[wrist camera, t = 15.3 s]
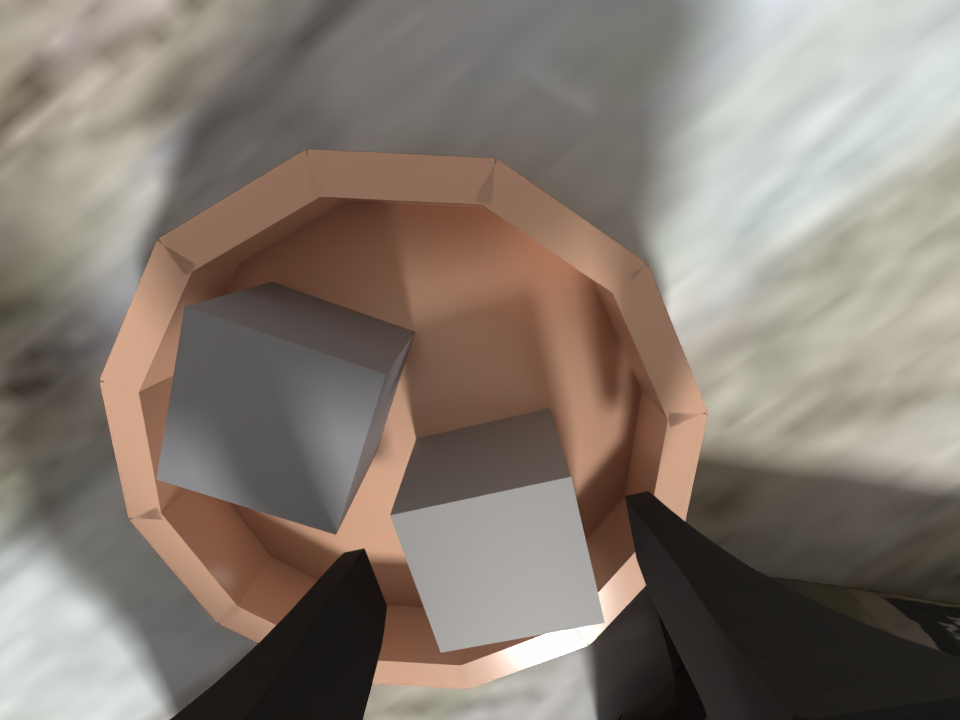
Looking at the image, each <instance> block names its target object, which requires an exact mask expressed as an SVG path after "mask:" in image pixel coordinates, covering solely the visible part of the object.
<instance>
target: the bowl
mask: <svg viewBox="0 0 960 720" xmlns="http://www.w3.org/2000/svg"><path fill="white" fill-rule="evenodd" d="M159 239H160V241H156V244H155V246H154V249H153V251H152V254H151V256H150V258H149V261H148V263H147V266H146V268H145V271H144V273H143V275H142V278H141V280H140V283H139V285H138V288H137V290H136V292H135V295H134V297H133V300H132V302H131V305H130V307H129V310H128V312H127V314H126V317H125V319H124V322H123V324H122V327H121V329H120V331H119V334H118V336H117V339H116V341H115V344H114V346H113V349H112V351H111V353H110V356H109V358H108V361H107V363H106V366H105V368H104V370H103V373H102V375H101V378H100V380H102V381H101V382H100V386H101V391H102V396H103V400H104V405H105V410H106V415H107V419H108V424H109V429H110V434H111V439H112V443H113V448H114V453H115V458H116V462H117V467H118V472H119V477H120V481H121V486H122V491H123V496H124V500H125V505H126V510H127V515H128V518H132V519H130V522H131V523H132V524H133V525H134V526H135V528H136V529H137V530H138V531H139V532H140V533H141V535H142V536H143V537H144V538H145V539H146V540H147V542H148V543H149V544H150V545H151V546H152V548H153V549H154V550H155V551H156V552H157V553H158V555H159V556H160V557H161V558H162V559H163V560H164V562H165V563H166V564H167V565H168V566H169V568H170V569H171V570H172V571H173V572H174V573H175V575H176V576H177V577H178V578H179V579H180V580H181V582H182V583H183V584H184V585H185V586H186V588H187V589H188V590H189V591H190V592H191V593H192V595H193V596H194V597H195V598H196V599H197V601H198V602H199V603H200V604H201V605H202V606H203V608H204V609H205V610H206V611H207V612H208V613H209V615H210V616H211V617H212V618H213V619H214V621H215V622H219V621H220V622H219V625H221V626H223V627H225V628H227V629H229V630H232V631H234V632H236V633H238V634H240V635H242V636H244V637H246V638H248V639H250V640H252V641H254V642H257V643H259V642H260V641H261V640H262V639H263V638H264V637H265V636H266V635H267V634H268V633H269V632H270V631H271V630H272V629H273V628H274V627H275V626H276V625H277V624H278V623H279V622H280V621H281V620H282V619H283V618H284V617H285V616H286V615H287V614H288V613H289V612H290V610H291V609H292V608H293V607H294V606H295V605H296V604H297V603H298V602H299V601H300V599H301V598H302V597H303V596H304V595H305V594H306V593H307V592H308V591H309V590H310V588H311V587H312V586H313V585H314V584H315V583H316V582H317V581H318V580H319V578H320V577H321V576H322V575H323V574H324V573H325V572H326V571H327V570H328V568H329V567H330V566H331V565H332V564H333V563H334V562H335V561H336V560H337V559H338V558H339V557H340V556H341V555H342V554H343V553H344V552H349V551H354V550H359V549H364V548H365V551H366V553H367V556H368V558H369V561H370V563H371V566H372V569H373V571H374V574H375V576H376V579H377V581H378V584H379V587H380V589H381V592H382V594H383V597H384V599H385V602H386V604H387V612H386V620H385V628H384V635H383V642H382V647H381V651H380V655H379V659H378V663H377V667H376V671H375V675H374V679H373V682H372V684H389V685H406V686H423V687H440V688H457V689H467V686H468V687H469V689H470V688H473V687H476V686H478V685H481V684H484V683H487V682H489V681H492V680H495V679H498V678H500V677H503V676H506V675H509V674H511V673H514V672H517V671H520V670H522V669H525V668H528V667H531V666H534V665H536V664H539V663H542V662H545V661H547V660H550V659H553V658H556V657H558V656H561V655H564V654H567V653H569V652H572V651H575V650H578V649H580V648H583V647H586V646H588V643H589V644H591V643H592V642H593V641H594V640H595V639H596V638H597V637H598V636H599V635H600V634H601V633H602V632H603V630H604V629H605V628H606V627H607V626H608V625H609V624H610V623H611V622H612V621H613V620H614V619H615V618H616V617H617V616H618V615H619V613H620V612H621V611H622V610H623V609H624V608H625V607H626V606H627V605H628V604H629V603H630V602H631V601H632V600H633V599H634V598H635V596H636V595H637V594H638V593H639V592H640V591H641V590H642V589H643V588H644V587H645V586H646V584H645V581H644V578H643V575H642V573H641V570H640V567H639V565H638V562H637V559H636V553H635V548H634V543H633V537H632V532H631V527H630V522H629V516H628V511H627V506H626V500H625V496H627V495H632V494H637V493H642V492H647V491H649V492H650V493H652V494H653V495H654V496H655V497H657V498H658V499H659V500H660V501H661V502H662V503H663V504H665V505H666V506H667V507H668V508H669V509H671V510H672V511H673V512H674V513H675V514H677V515H678V516H679V517H680V518H682V519H683V520H684V521H686V516H687V511H688V506H689V502H690V497H691V492H692V487H693V483H694V478H695V473H696V468H697V463H698V459H699V454H700V449H701V444H702V440H703V435H704V430H705V425H706V421H707V416H708V414H707V413H706V412H708V411H707V409H706V406H705V404H704V401H703V399H702V396H701V394H700V391H699V389H698V387H697V384H696V382H695V379H694V377H693V374H692V372H691V369H690V367H689V364H688V362H687V359H686V357H685V354H684V352H683V350H682V347H681V345H680V342H679V340H678V337H677V335H676V332H675V330H674V327H673V325H672V322H671V320H670V317H669V315H668V313H667V310H666V308H665V305H664V303H663V300H662V298H661V295H660V293H659V290H658V288H657V285H656V283H655V280H654V278H653V276H652V273H651V271H650V268H649V266H648V265H645V264H646V262H645V261H643V260H642V259H640V258H639V257H637V256H636V255H635V254H633V253H632V252H630V251H629V250H627V249H626V248H624V247H623V246H622V245H620V244H619V243H617V242H616V241H614V240H613V239H612V238H610V237H609V236H607V235H606V234H604V233H603V232H602V231H600V230H599V229H597V228H596V227H594V226H593V225H592V224H590V223H589V222H587V221H586V220H584V219H583V218H581V217H580V216H579V215H577V214H576V213H574V212H573V211H571V210H570V209H569V208H567V207H566V206H564V205H563V204H561V203H560V202H559V201H557V200H556V199H554V198H553V197H551V196H550V195H549V194H547V193H546V192H544V191H543V190H541V189H540V188H539V187H537V186H536V185H534V184H533V183H531V182H530V181H528V180H527V179H526V178H524V177H523V176H521V175H520V174H518V173H517V172H516V171H514V170H513V169H511V168H510V167H508V166H507V165H506V164H504V163H503V162H501V161H500V160H497V162H496V163H495V165H494V158H484V157H463V156H442V155H422V154H401V153H380V152H359V151H338V150H317V149H308V151H306V150H303V151H302V152H300V153H298V154H297V155H295V156H293V157H292V158H290V159H289V160H287V161H285V162H284V163H282V164H280V165H279V166H277V167H275V168H274V169H272V170H270V171H269V172H267V173H265V174H264V175H262V176H261V177H259V178H257V179H256V180H254V181H252V182H251V183H249V184H247V185H246V186H244V187H242V188H241V189H239V190H238V191H236V192H234V193H233V194H231V195H229V196H228V197H226V198H224V199H223V200H221V201H219V202H218V203H216V204H214V205H213V206H211V207H210V208H208V209H206V210H205V211H203V212H201V213H200V214H198V215H196V216H195V217H193V218H191V219H190V220H188V221H187V222H185V223H183V224H182V225H180V226H178V227H177V228H175V229H173V230H172V231H170V232H168V233H167V234H165V235H163V236H162V237H160V238H159ZM270 282H274V283H277V284H280V285H283V286H286V287H288V288H291V289H294V290H297V291H300V292H303V293H306V294H309V295H311V296H314V297H317V298H320V299H323V300H326V301H329V302H332V303H334V304H337V305H340V306H343V307H346V308H349V309H352V310H355V311H357V312H360V313H363V314H366V315H369V316H372V317H375V318H378V319H380V320H383V321H386V322H389V323H392V324H395V325H398V326H401V327H403V328H406V329H409V330H412V331H415V334H414V337H413V340H412V343H411V346H410V349H409V352H408V356H407V359H406V362H405V365H404V368H403V371H402V374H401V377H400V380H399V384H398V387H397V390H396V393H395V396H394V399H393V402H392V405H391V408H390V412H389V415H388V418H387V421H386V424H385V427H384V430H383V433H382V436H381V440H380V443H379V446H378V449H377V452H376V455H375V457H374V459H373V461H372V463H371V465H370V467H369V469H368V471H367V473H366V475H365V477H364V479H363V481H362V483H361V485H360V487H359V489H358V491H357V493H356V495H355V498H354V500H353V502H352V504H351V506H350V508H349V510H348V512H347V514H346V516H345V518H344V520H343V522H342V524H341V526H340V528H339V530H338V532H337V534H336V535H335V534H331V533H328V532H325V531H322V530H318V529H315V528H312V527H309V526H305V525H302V524H299V523H296V522H292V521H289V520H286V519H283V518H279V517H276V516H273V515H270V514H266V513H263V512H260V511H257V510H253V509H250V508H247V507H244V506H240V505H237V504H234V503H231V502H227V501H224V500H221V499H218V498H214V497H211V496H208V495H205V494H201V493H198V492H195V491H192V490H188V489H185V488H182V487H179V486H175V485H172V484H169V483H166V482H162V481H159V480H156V479H157V472H158V466H159V460H160V454H161V448H162V442H163V435H164V429H165V423H166V417H167V411H168V405H169V399H170V392H171V386H172V380H173V374H174V368H175V362H176V356H177V349H178V343H179V337H180V331H181V325H182V319H183V312H184V306H187V305H191V304H194V303H198V302H202V301H205V300H209V299H212V298H216V297H219V296H223V295H227V294H230V293H234V292H237V291H241V290H244V289H248V288H252V287H255V286H259V285H262V284H266V283H270ZM549 408H550V410H551V414H552V417H553V420H554V423H555V427H556V430H557V433H558V436H559V439H560V443H561V446H562V449H563V452H564V455H565V459H566V462H567V465H568V468H569V471H570V475H571V478H572V483H573V487H574V491H575V496H576V500H577V504H578V509H579V513H580V517H581V522H582V526H583V530H584V535H585V539H586V543H587V548H588V552H589V556H590V561H591V565H592V569H593V574H594V578H595V582H596V587H597V591H598V595H599V600H600V604H601V608H602V613H603V617H604V621H605V623H602V624H597V625H591V626H586V627H580V628H575V629H569V630H564V631H558V632H553V633H547V634H542V635H536V636H531V637H525V638H520V639H514V640H509V641H503V642H498V643H492V644H487V645H481V646H476V647H470V648H464V649H459V650H453V651H448V652H442V653H441V652H440V649H439V647H438V644H437V641H436V638H435V636H434V633H433V630H432V628H431V625H430V622H429V620H428V617H427V614H426V611H425V609H424V606H423V603H422V601H421V598H420V595H419V593H418V590H417V587H416V585H415V582H414V579H413V576H412V574H411V571H410V568H409V566H408V563H407V560H406V558H405V555H404V552H403V549H402V547H401V544H400V541H399V539H398V536H397V533H396V531H395V528H394V525H393V522H392V520H391V517H390V514H391V511H392V508H393V505H394V502H395V499H396V496H397V493H398V490H399V487H400V484H401V482H402V479H403V476H404V473H405V470H406V467H407V464H408V461H409V458H410V455H411V452H412V449H413V446H414V443H415V441H416V439H418V438H422V437H426V436H431V435H435V434H440V433H444V432H448V431H453V430H457V429H461V428H466V427H470V426H474V425H479V424H483V423H488V422H492V421H496V420H501V419H505V418H509V417H514V416H518V415H522V414H527V413H531V412H536V411H540V410H544V409H549Z"/></svg>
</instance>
